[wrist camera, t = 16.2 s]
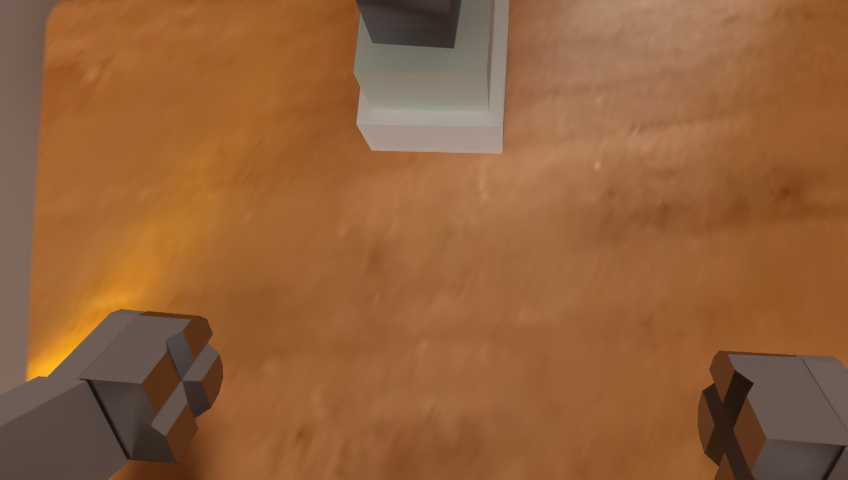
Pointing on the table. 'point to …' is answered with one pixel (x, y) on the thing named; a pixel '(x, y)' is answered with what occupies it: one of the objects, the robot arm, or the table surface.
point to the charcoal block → (411, 21)
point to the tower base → (446, 113)
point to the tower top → (431, 67)
